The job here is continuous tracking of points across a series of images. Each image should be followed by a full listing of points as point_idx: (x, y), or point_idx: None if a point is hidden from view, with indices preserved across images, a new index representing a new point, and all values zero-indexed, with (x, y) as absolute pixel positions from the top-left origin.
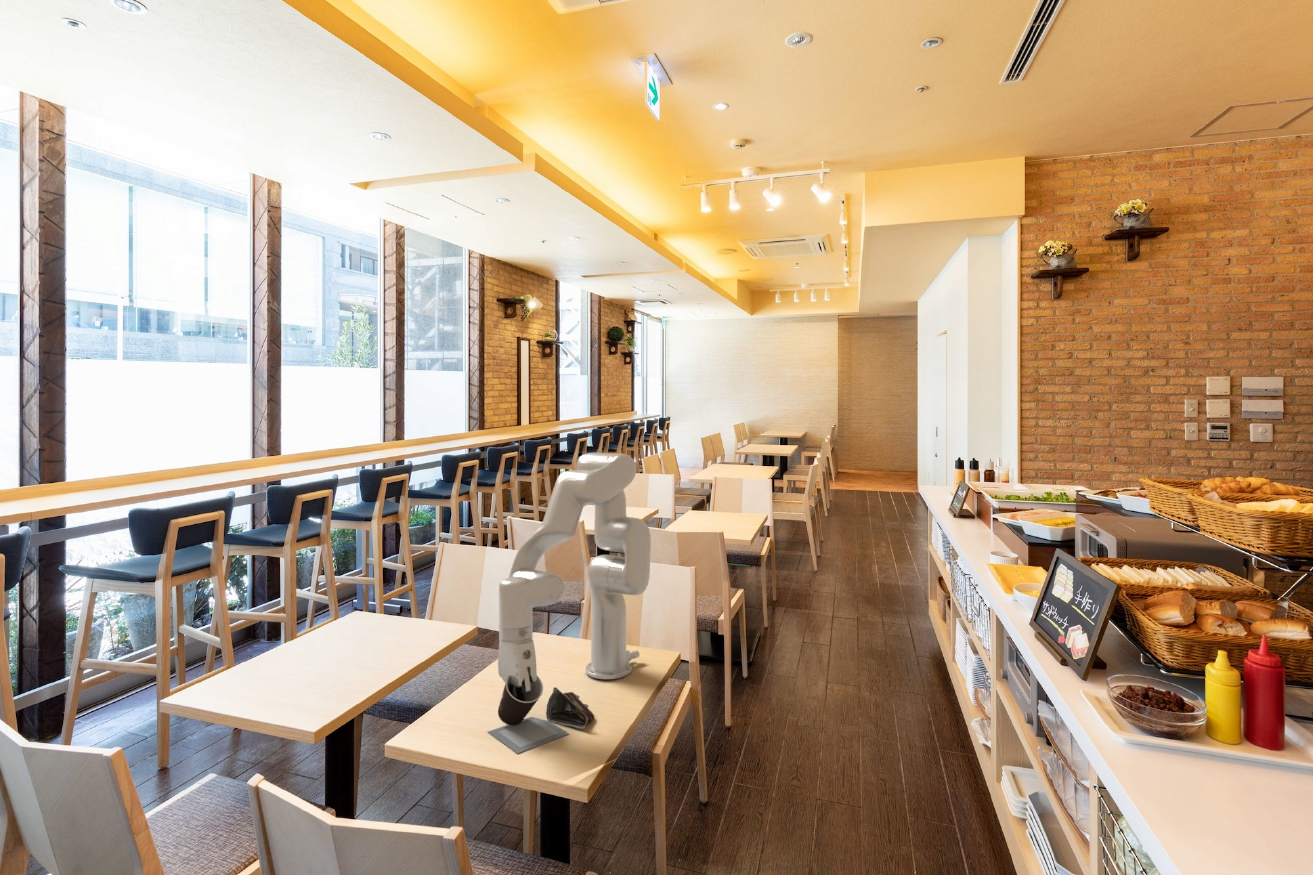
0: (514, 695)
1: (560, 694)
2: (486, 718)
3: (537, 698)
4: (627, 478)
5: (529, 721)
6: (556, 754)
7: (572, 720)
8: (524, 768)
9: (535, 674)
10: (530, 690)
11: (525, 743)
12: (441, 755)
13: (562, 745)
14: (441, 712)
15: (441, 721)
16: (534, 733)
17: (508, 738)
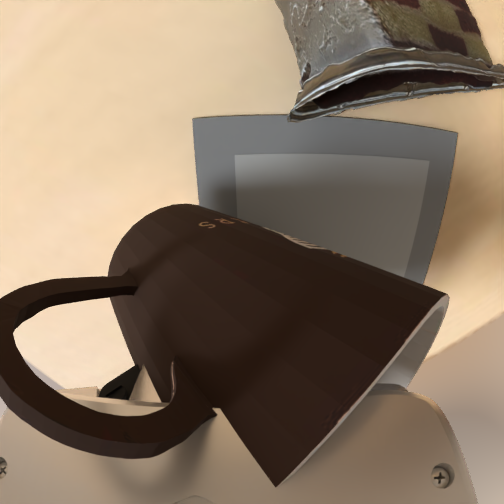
0: None
1: (359, 28)
2: (104, 302)
3: (438, 326)
4: None
5: (242, 192)
6: (490, 245)
7: (447, 83)
8: (457, 328)
9: (461, 467)
10: (406, 390)
11: None
12: None
13: (480, 202)
14: (30, 357)
15: (80, 378)
16: (359, 232)
17: None
